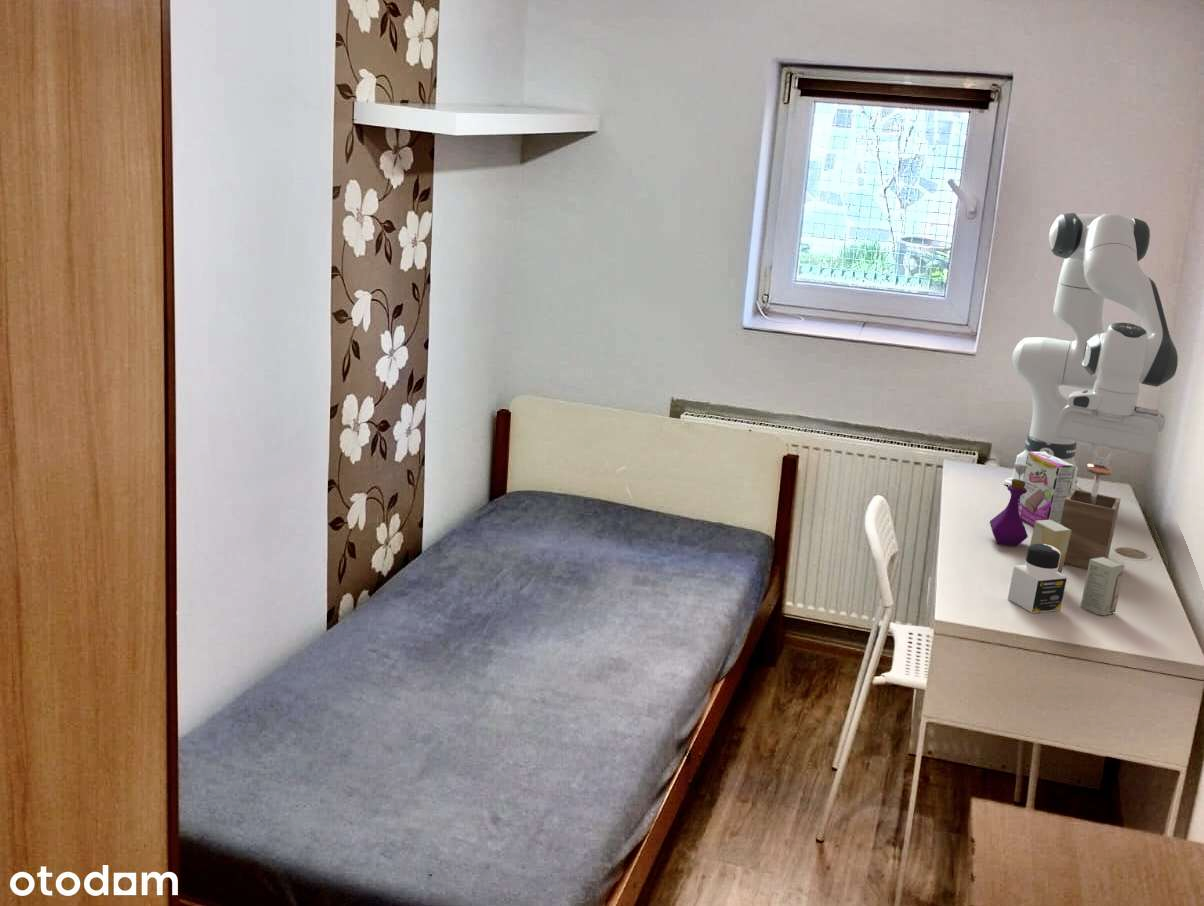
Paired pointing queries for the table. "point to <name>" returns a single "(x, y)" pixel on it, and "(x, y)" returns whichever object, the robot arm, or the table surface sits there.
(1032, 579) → the medicine bottle
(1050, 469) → the candy bar box
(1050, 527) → the skincare box
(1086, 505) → the wooden box
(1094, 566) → the skincare box
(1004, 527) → the perfume bottle
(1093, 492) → the table lamp
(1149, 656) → the table surface
